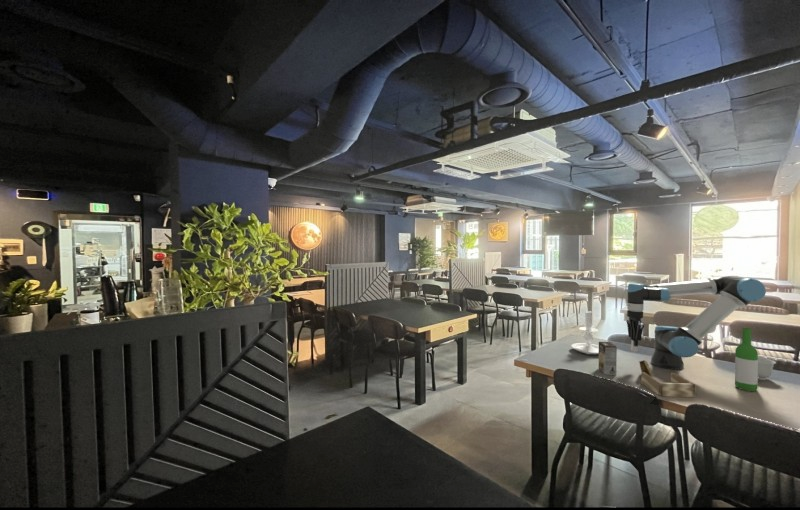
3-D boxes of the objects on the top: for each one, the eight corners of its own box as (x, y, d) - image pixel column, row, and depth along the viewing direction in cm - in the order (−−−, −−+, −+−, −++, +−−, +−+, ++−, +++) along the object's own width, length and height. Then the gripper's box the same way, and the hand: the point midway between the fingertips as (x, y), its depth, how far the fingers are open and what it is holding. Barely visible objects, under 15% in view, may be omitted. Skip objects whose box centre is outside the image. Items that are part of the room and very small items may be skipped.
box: (673, 384, 169) (673, 372, 169) (695, 397, 155) (695, 384, 154) (641, 383, 170) (641, 372, 170) (660, 396, 156) (660, 383, 156)
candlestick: (569, 356, 213) (568, 313, 212) (572, 345, 234) (572, 306, 233) (606, 361, 202) (606, 316, 201) (606, 350, 222) (607, 309, 222)
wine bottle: (756, 393, 157) (757, 331, 156) (733, 387, 163) (734, 328, 162) (758, 389, 162) (759, 328, 161) (736, 383, 168) (737, 325, 167)
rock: (636, 367, 186) (629, 369, 180) (648, 357, 182) (641, 359, 176) (654, 384, 179) (647, 386, 173) (667, 374, 175) (660, 376, 169)
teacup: (775, 376, 176) (775, 358, 175) (775, 384, 166) (776, 365, 166) (743, 370, 185) (743, 352, 185) (741, 377, 175) (741, 359, 175)
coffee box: (597, 368, 191) (598, 341, 191) (610, 369, 190) (610, 341, 190) (604, 374, 182) (604, 346, 182) (617, 375, 181) (617, 346, 181)
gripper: (621, 308, 194) (620, 347, 195) (635, 312, 181) (634, 354, 182) (635, 308, 193) (634, 347, 194) (649, 312, 180) (648, 355, 181)
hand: (634, 351), depth 188 cm, fingers closed
